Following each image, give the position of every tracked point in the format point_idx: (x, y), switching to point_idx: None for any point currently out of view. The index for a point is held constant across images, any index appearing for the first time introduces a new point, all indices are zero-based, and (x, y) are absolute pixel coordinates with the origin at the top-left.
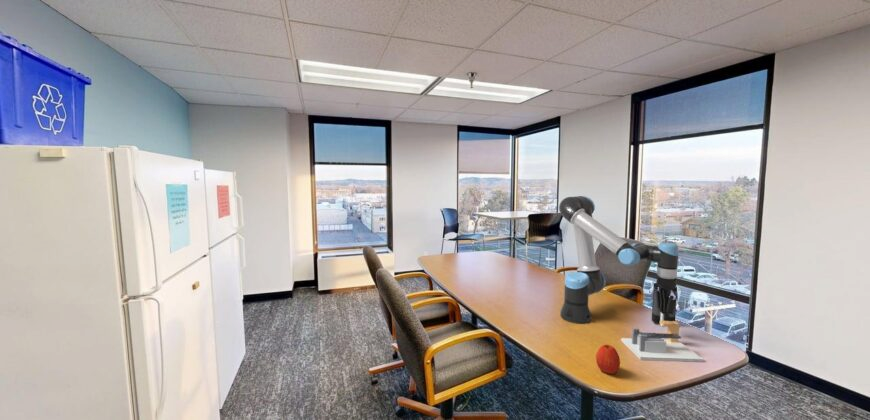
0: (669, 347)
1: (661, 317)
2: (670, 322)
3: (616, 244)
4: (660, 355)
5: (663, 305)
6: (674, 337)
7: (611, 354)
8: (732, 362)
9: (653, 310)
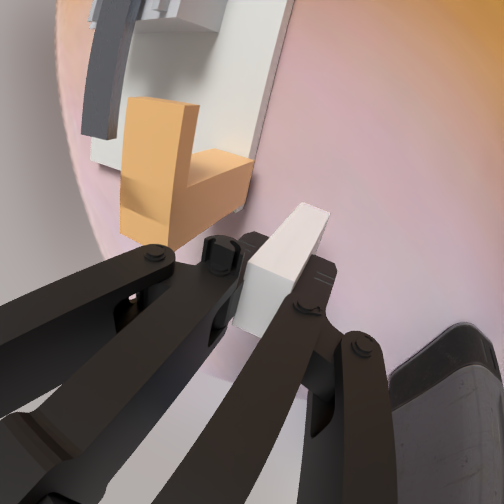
0: (166, 87)
1: (293, 241)
2: (145, 189)
3: None
4: None
5: (172, 347)
6: (88, 93)
7: None
8: (105, 256)
9: (492, 387)
